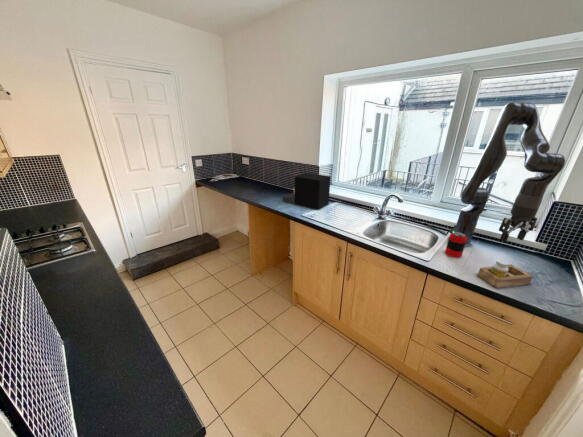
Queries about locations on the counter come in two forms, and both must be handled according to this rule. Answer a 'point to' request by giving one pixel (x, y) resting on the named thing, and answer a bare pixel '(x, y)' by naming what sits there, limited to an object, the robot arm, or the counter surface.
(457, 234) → the soda can
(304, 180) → the black squarish block
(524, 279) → the holder
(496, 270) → the supplement bottle
